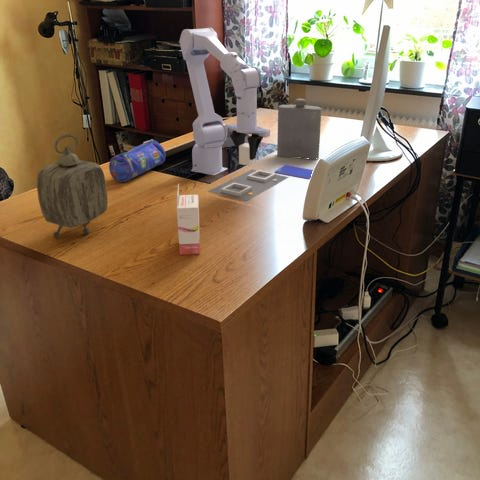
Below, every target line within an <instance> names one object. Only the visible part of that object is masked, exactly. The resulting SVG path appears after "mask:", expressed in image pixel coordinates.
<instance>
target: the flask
mask: <svg viewBox="0 0 480 480" xmlns="http://www.w3.org/2000/svg"><path fill="white" fill-rule="evenodd" d="M306 102H307V101H306V99H304V98H296V99H295V100H294V104H280V105H278V107H277V138H276V139H277V148H276V149H277V150H276V152H277V153H276V155H277V156H278V157H279V158H291V157H301V158H300V159H303V158H309V159H315V160H317V159H316V158H318V159H319V157H320V140H321V123H322V107H320V106H316V105H306ZM309 159H308V160H309Z"/></svg>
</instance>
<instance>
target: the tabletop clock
mask: <svg viewBox="0 0 480 480" xmlns="http://www.w3.org/2000/svg"><path fill="white" fill-rule="evenodd" d="M69 137H71V138H73V139H74V141H75V144H74V145H73V146H72V147H71V148H70V146H67V145H66V146H65V147H64V150H59V149H58V148H57V147H58V145H59V144H58V143H59V142H60V141H61V140H63V139H65V138H69ZM78 142H79V141H78V138H77V136H76V135H74V134H73V133H66V134H62V135H61V136H59V137H58V138H57V139H56V141H55V142H54V150H55V151H56V152H57V153H58V154H61V155H59V157H58V160H57V161H55V162H53V163H51V164H49V165H47V166H45V167H44V168H42V169H40V171H38V172H37V177H36V190H37V199H38V204H39V207H40V210H41V213H42V216H43V218H44V220H45V221H46V222H48V223H51V224H55V225H58V228H57V230H56V231H54V232H53V233H52V236H53V238H54V239H59V237H60V235H61V234H60V232H61V230H63V228H64V227H65V228H71V229H73V228H76V227H79V226H83V230H82V232H83V235H88V234H90V229H89V228H87V226H86V223H90V222H91V221H93V220H95V219H97V218H98V217H100V216H102V215H103V214H104V213H106V211H107V209H108V191H107V189H108V188H107V184H106V178H105V177H106V176H105V174H104V171H103V168H102V167H101V166H100V164H99V163H98V162H97V163H96V162H91V161H87V160H82V159H80V158H79V157H78V155H77V154H75V153H73V152H72V151H73V150H75V149H76V148H77V146H78V144H79V143H78Z"/></svg>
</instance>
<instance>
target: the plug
mask: <svg viewBox="0 0 480 480" xmlns="http://www.w3.org/2000/svg"><path fill="white" fill-rule="evenodd" d="M256 162H257V157H256V158H255V159H253V160H250V149H249V143H244V144H242V145H240V146H239V157H238V165H244V166H252V165H254V164H256Z"/></svg>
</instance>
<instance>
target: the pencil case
mask: <svg viewBox="0 0 480 480" xmlns="http://www.w3.org/2000/svg"><path fill="white" fill-rule="evenodd" d="M165 161H166V151H165V149H164V147H163V145H161V144H160V143H159V142H158V141H157V140H155V139H153V138H152V139H150V140H149V139H148V140H146V141H143V143H142V144H139V145H138V146H135V147H133V148H131V149H130V150H128V151H125V152H122V153H118V154H117V155H114V156H113V157H111V159H110V160H109V164H108V169H109V174H110V175H111V177H112V179H114V180H115V181H116V182H119V183H124V182H127V181H131V180H132V179H133V178H136V177H137V176H140V175H142V174H143V173H147V172H148V171H150V170H152V169H154V168H155V167H157V166H160V165H162V164H164V162H165Z"/></svg>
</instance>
